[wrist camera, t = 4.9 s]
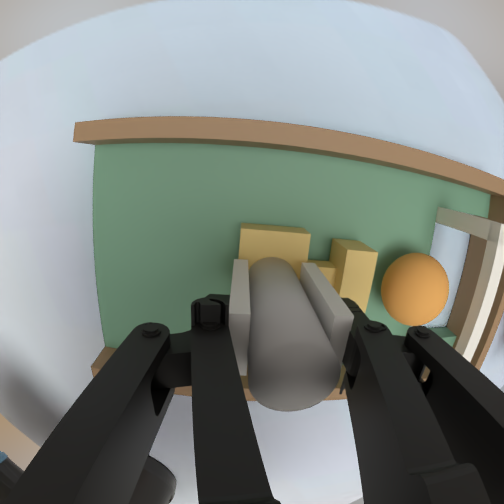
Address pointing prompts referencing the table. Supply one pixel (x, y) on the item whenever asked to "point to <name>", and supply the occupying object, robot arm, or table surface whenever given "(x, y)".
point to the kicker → (295, 313)
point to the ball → (414, 289)
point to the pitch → (276, 217)
